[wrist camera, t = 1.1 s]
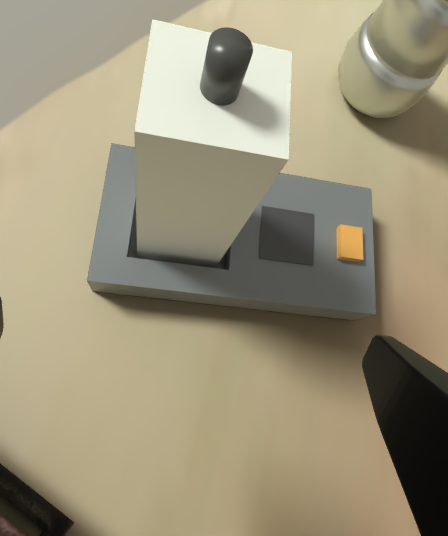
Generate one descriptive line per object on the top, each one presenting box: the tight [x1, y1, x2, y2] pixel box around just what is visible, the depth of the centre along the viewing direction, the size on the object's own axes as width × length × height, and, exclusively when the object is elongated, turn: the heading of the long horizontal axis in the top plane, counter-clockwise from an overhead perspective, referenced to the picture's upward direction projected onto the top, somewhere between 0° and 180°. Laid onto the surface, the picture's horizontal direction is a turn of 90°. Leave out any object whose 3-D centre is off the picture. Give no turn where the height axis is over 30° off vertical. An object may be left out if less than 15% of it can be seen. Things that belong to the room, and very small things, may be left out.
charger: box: [135, 20, 292, 268], centre depth 17 cm, size 4×4×14 cm
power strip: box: [87, 143, 376, 320], centre depth 23 cm, size 16×8×3 cm, turn 86°
